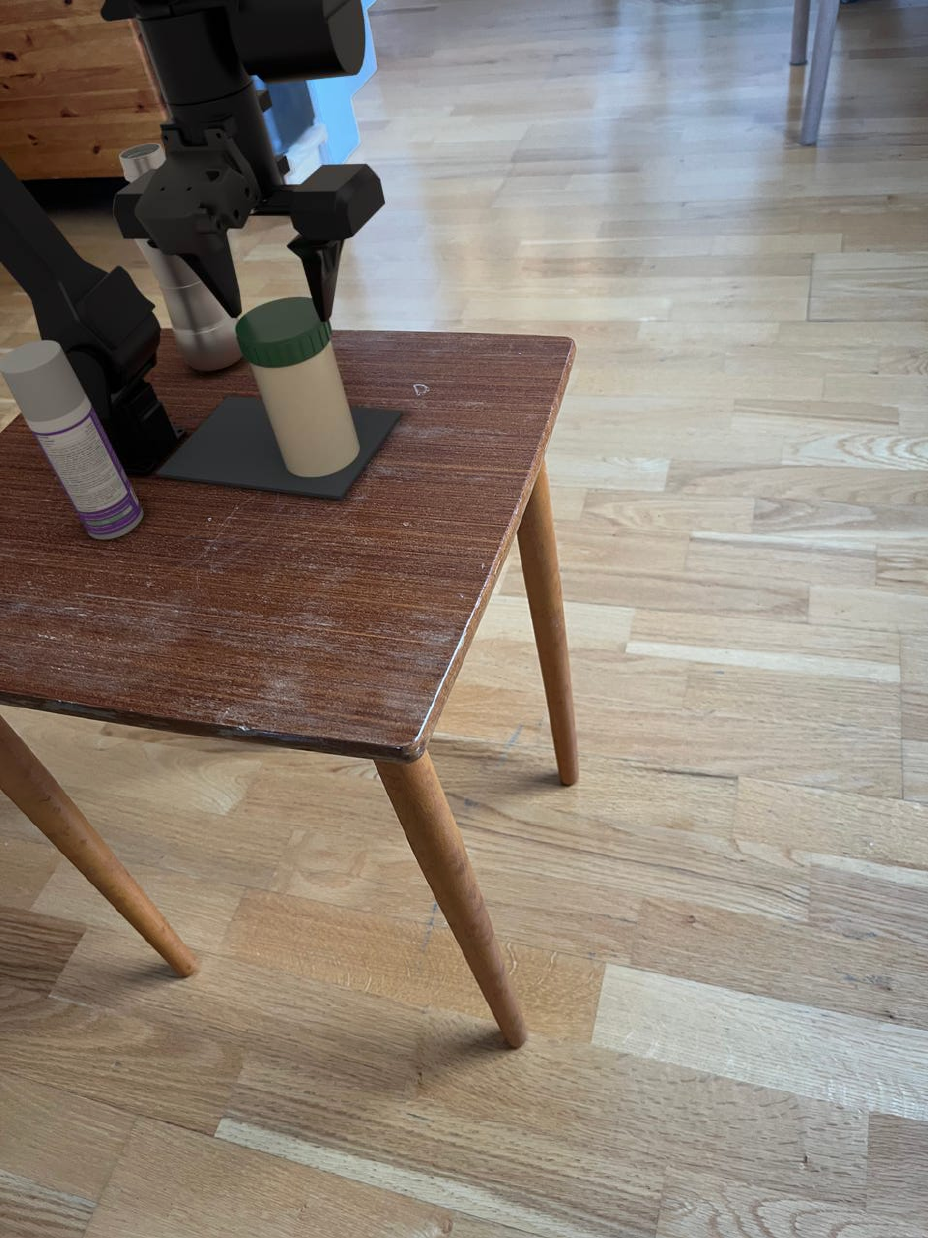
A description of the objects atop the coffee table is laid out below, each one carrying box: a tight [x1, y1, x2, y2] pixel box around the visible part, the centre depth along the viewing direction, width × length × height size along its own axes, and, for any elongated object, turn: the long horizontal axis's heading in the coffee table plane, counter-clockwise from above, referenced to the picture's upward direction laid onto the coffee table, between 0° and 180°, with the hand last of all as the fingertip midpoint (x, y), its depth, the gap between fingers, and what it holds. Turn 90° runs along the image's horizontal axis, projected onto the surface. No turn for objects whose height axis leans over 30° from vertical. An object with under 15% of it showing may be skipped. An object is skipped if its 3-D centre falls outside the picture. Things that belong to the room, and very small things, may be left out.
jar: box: [249, 340, 360, 477], centre depth 75 cm, size 6×6×12 cm
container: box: [0, 340, 144, 540], centre depth 72 cm, size 5×5×15 cm
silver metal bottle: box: [118, 142, 244, 372], centre depth 87 cm, size 6×7×20 cm
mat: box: [155, 395, 404, 501], centre depth 82 cm, size 18×12×1 cm, turn 68°
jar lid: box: [235, 296, 333, 367], centre depth 71 cm, size 7×7×2 cm
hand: (280, 317), depth 71 cm, fingers open, 7 cm apart
